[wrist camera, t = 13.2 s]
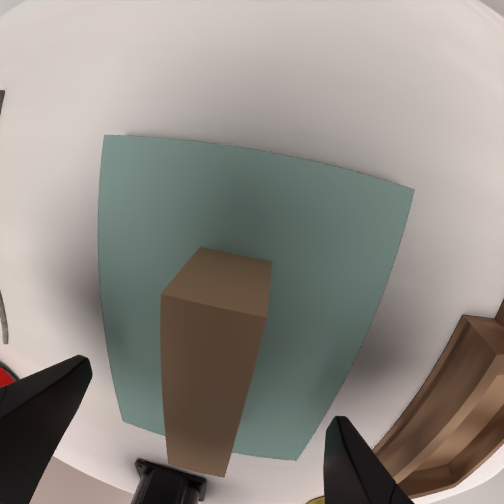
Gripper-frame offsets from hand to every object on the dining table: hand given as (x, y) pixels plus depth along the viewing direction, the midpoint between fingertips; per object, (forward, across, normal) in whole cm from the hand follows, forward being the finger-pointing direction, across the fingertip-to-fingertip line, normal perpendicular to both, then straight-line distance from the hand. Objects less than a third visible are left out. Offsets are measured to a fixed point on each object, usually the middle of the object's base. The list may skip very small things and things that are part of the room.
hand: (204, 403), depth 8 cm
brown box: (+4, -17, +2) cm, 18 cm away
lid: (+4, 0, 0) cm, 4 cm away
